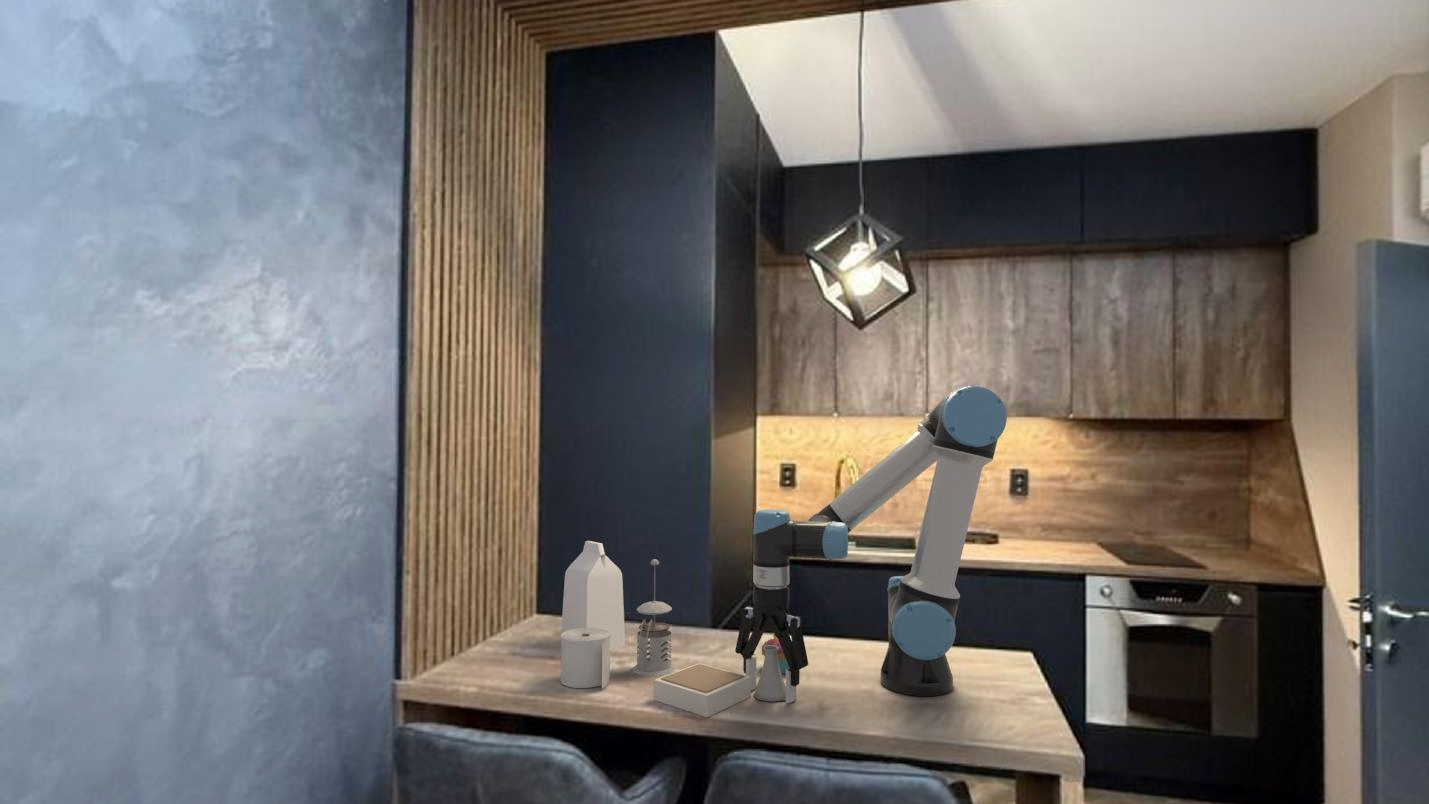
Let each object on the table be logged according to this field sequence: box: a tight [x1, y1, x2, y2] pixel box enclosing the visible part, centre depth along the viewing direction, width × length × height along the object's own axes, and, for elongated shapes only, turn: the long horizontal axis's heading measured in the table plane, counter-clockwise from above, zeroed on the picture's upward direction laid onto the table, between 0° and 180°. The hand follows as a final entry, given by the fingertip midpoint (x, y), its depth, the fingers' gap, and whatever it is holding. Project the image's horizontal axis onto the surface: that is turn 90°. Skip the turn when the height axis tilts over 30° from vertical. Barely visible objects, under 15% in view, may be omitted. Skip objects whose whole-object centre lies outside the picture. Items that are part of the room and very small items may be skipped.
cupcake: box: [761, 633, 789, 674], centre depth 168 cm, size 9×8×12 cm
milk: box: [560, 540, 626, 651], centre depth 187 cm, size 12×12×26 cm
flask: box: [753, 645, 786, 702], centre depth 152 cm, size 7×7×10 cm
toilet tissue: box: [560, 628, 611, 689], centre depth 161 cm, size 11×12×10 cm
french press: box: [632, 558, 676, 677], centre depth 168 cm, size 10×12×25 cm
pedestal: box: [653, 663, 752, 718], centre depth 150 cm, size 14×14×4 cm
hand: (770, 695), depth 152 cm, fingers open, 9 cm apart
